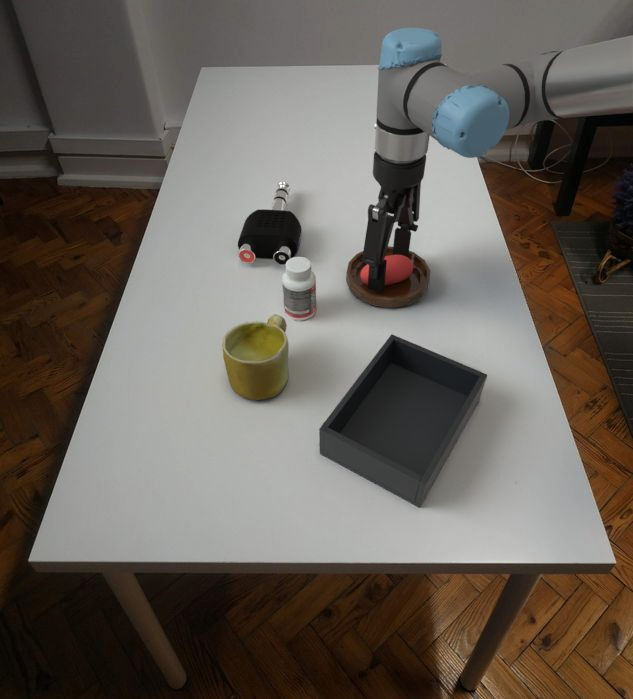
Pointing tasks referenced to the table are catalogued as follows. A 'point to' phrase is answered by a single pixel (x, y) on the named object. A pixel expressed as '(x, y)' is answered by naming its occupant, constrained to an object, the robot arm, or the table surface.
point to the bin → (402, 418)
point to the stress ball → (392, 269)
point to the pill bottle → (299, 289)
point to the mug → (257, 358)
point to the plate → (393, 293)
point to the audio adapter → (271, 231)
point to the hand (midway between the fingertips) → (387, 275)
